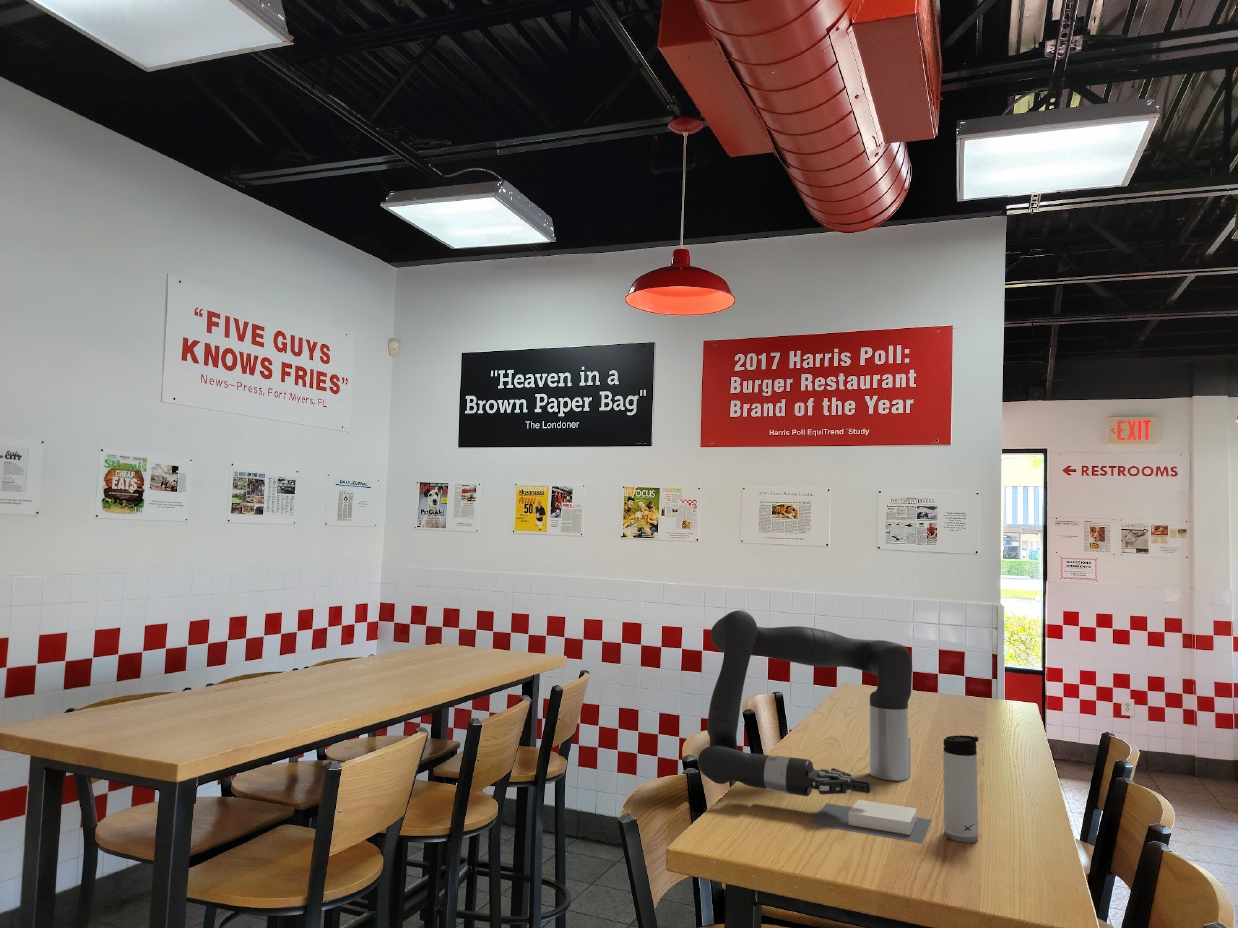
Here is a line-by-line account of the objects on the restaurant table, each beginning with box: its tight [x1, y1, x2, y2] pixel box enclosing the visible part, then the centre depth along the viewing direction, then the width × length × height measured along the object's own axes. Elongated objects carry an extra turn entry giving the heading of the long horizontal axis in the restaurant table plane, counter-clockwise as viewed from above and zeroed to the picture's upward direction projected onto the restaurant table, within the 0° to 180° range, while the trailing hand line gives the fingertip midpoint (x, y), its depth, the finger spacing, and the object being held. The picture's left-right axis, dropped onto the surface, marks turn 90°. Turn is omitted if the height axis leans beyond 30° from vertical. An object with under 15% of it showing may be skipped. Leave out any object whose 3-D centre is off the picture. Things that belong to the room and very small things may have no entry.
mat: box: [808, 802, 932, 844], centre depth 176 cm, size 22×16×1 cm
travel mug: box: [942, 734, 980, 844], centre depth 170 cm, size 6×7×20 cm
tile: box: [849, 799, 918, 835], centre depth 176 cm, size 3×10×12 cm
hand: (870, 786), depth 177 cm, fingers closed
